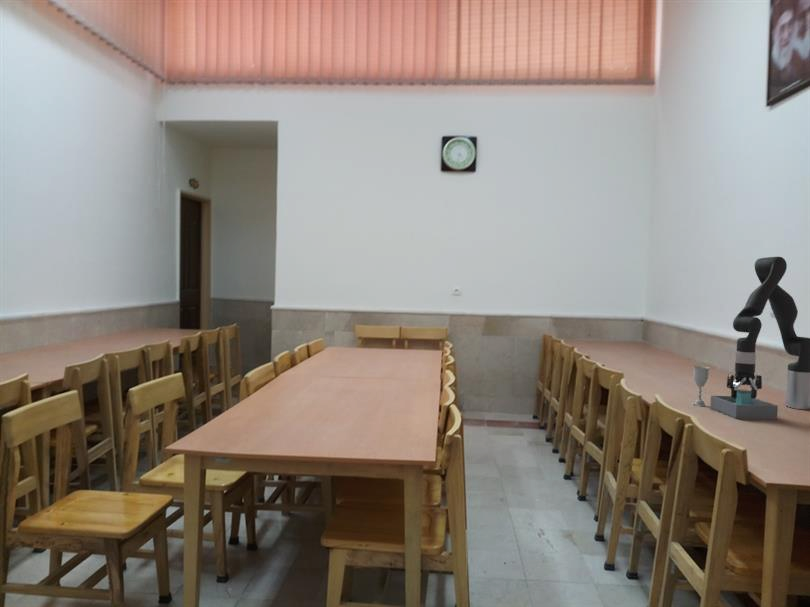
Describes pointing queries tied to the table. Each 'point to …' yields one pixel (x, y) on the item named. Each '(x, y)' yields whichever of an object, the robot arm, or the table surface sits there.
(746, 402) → the peg
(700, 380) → the chalice
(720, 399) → the walled box
